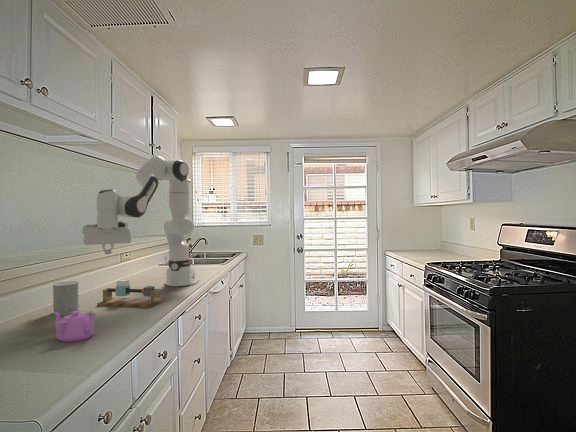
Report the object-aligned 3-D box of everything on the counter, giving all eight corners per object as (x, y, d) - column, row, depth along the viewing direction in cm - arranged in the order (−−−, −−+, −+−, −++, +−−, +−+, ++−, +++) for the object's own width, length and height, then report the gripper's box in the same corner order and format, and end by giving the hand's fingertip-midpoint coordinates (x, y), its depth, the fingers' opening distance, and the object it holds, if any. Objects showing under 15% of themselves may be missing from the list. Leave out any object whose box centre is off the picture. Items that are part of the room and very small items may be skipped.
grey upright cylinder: (51, 316, 163) (50, 286, 162) (55, 310, 172) (54, 282, 171) (77, 313, 166) (77, 284, 166) (80, 308, 175) (79, 280, 175)
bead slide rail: (103, 294, 183) (103, 286, 183) (109, 293, 187) (108, 285, 187) (153, 296, 179) (153, 287, 179) (158, 294, 183) (157, 286, 183)
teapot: (96, 340, 132) (96, 313, 131) (48, 346, 126) (47, 318, 126) (98, 330, 142) (97, 305, 142) (53, 335, 137) (53, 310, 137)
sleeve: (115, 296, 182) (115, 281, 182) (121, 294, 186) (121, 279, 186) (124, 296, 181) (124, 281, 181) (130, 294, 186) (129, 279, 186)
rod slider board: (97, 305, 180) (97, 291, 180) (113, 299, 191) (113, 286, 191) (150, 307, 175) (150, 292, 175) (163, 301, 187) (163, 287, 187)
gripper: (81, 224, 177) (82, 255, 178) (131, 223, 186) (131, 253, 186) (82, 224, 183) (83, 254, 183) (130, 223, 192) (130, 252, 192)
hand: (108, 253), depth 185 cm, fingers closed
